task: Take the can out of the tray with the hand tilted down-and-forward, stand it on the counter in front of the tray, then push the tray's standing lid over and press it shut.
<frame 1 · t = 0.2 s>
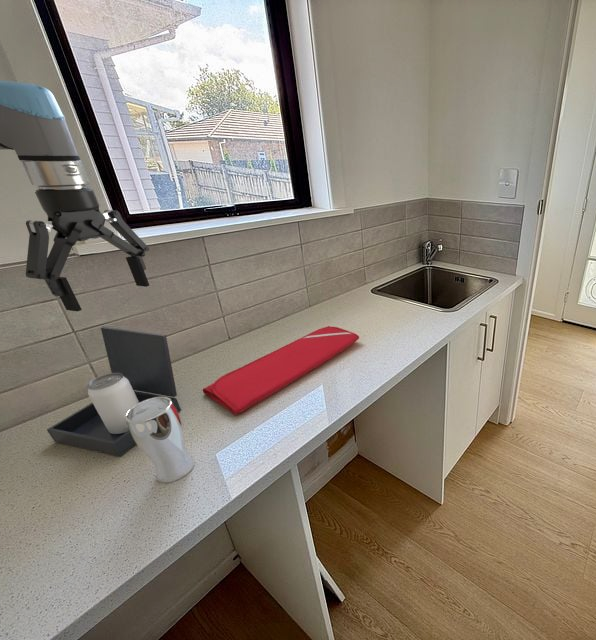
hand: (111, 297, 69), 28 cm above the countertop, tool pointing down, fingers open, 13 cm apart
dish drying mat: (291, 366, 96), on the countertop
can: (128, 425, 74), resting on tray
lid: (139, 362, 77), point 11 cm above the countertop, hinge at 100.0°
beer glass: (176, 469, 65), on the countertop
tray: (121, 425, 75), on the countertop
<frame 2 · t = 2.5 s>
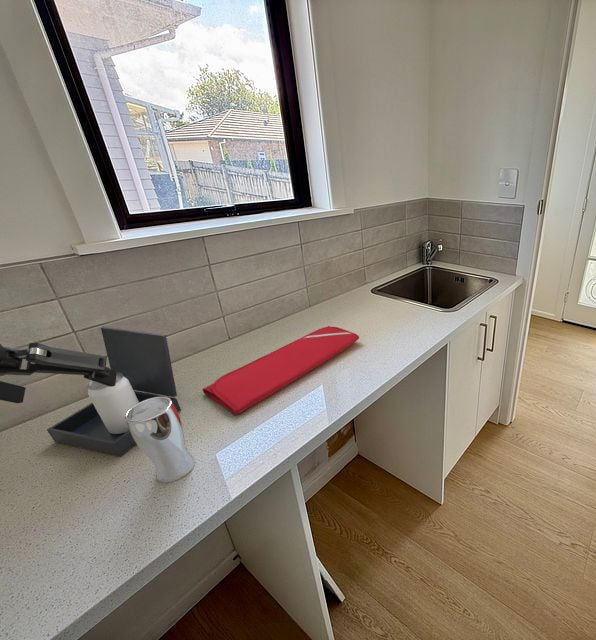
hand: (69, 387, 60), 17 cm above the countertop, tool tilted 40°, fingers open, 13 cm apart
nothing on the countertop moved.
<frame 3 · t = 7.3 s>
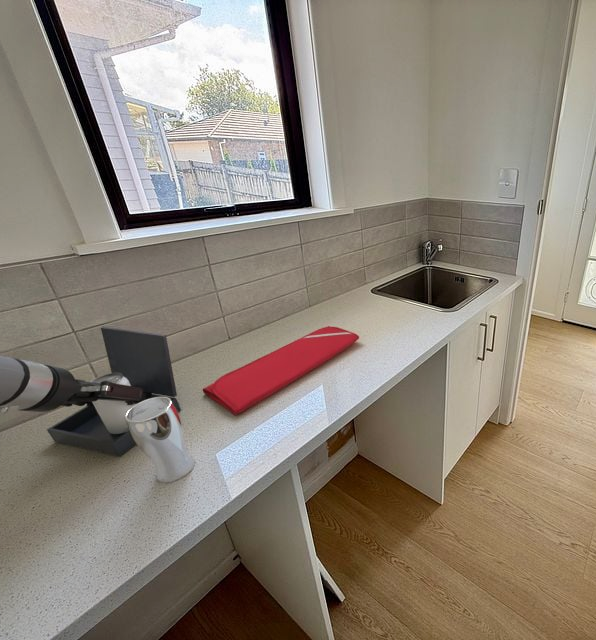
hand: (131, 400, 76), 4 cm above the countertop, tool tilted 45°, fingers closed on can, 6 cm apart
can: (128, 425, 74), resting on tray, touching gripper
everything else where it was.
when the fingers open (4 cm above the countertop, at t = 15.8 s): can stays where it is, on the countertop.
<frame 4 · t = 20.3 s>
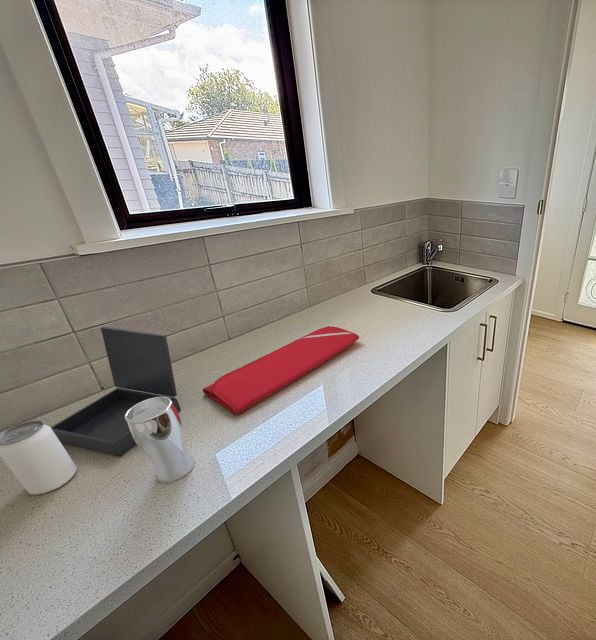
can: (54, 481, 62), on the countertop
everything else where it was.
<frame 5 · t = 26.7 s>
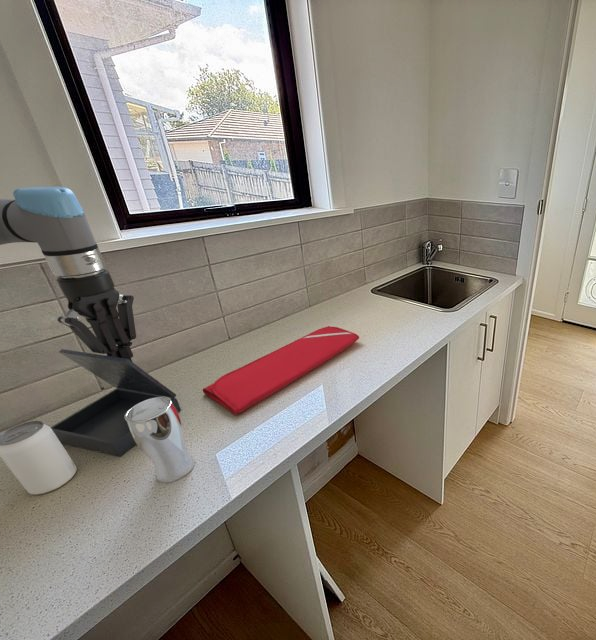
hand: (128, 372, 75), 10 cm above the countertop, tool pointing down, fingers closed
lid: (121, 374, 74), point 11 cm above the countertop, hinge at 66.2°, touching gripper
everything else where it was.
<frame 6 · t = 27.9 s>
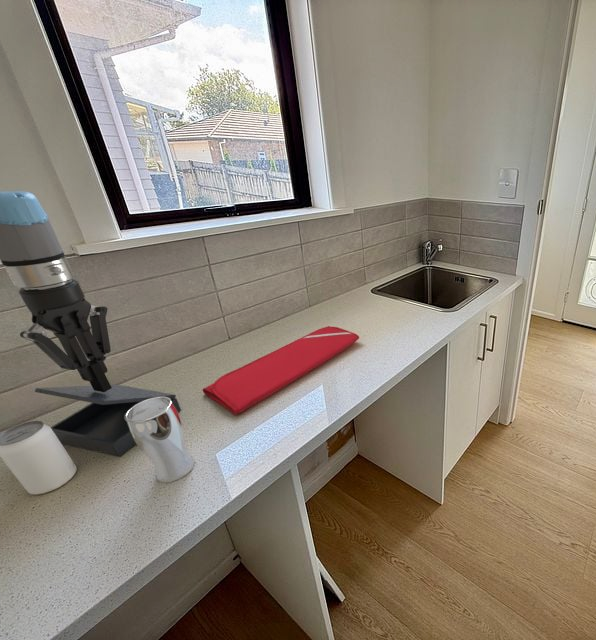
hand: (103, 389, 70), 10 cm above the countertop, tool pointing down, fingers closed
lid: (110, 393, 72), point 8 cm above the countertop, hinge at 33.8°, touching gripper
everything else where it was.
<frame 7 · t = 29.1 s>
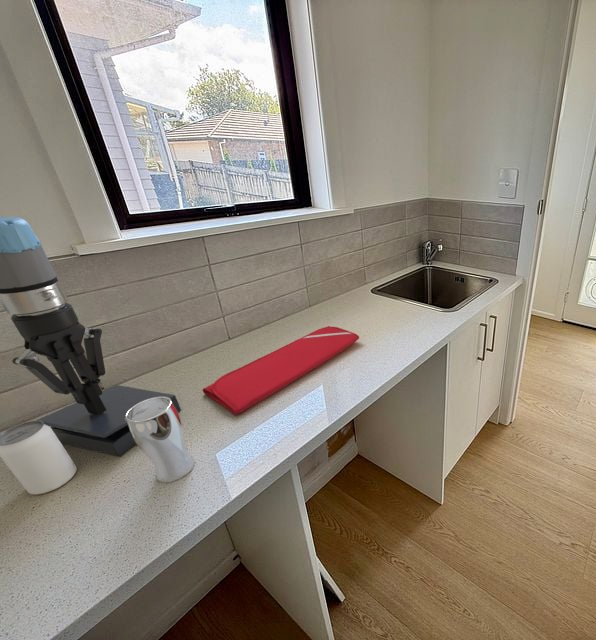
hand: (97, 411, 70), 6 cm above the countertop, tool pointing down, fingers closed
lid: (111, 408, 72), point 5 cm above the countertop, hinge at 8.3°, touching gripper
everything else where it was.
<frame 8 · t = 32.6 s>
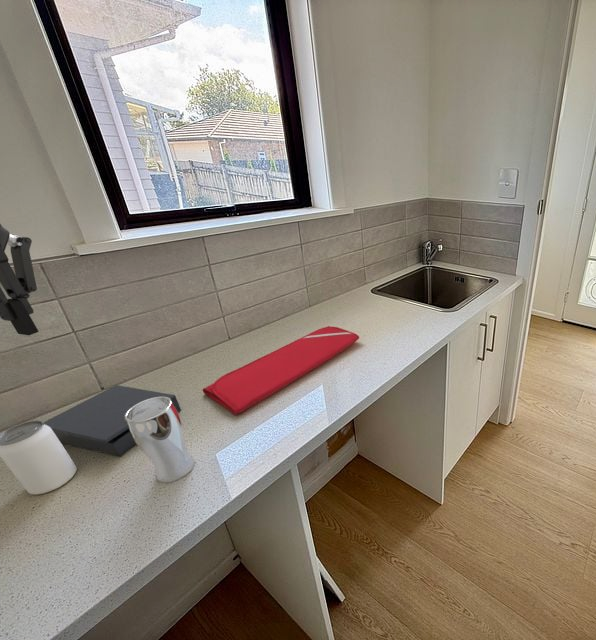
hand: (28, 332, 62), 24 cm above the countertop, tool pointing down, fingers closed
lid: (111, 410, 72), point 5 cm above the countertop, hinge at 3.8°
everything else where it was.
at the end: can inside the target area (0.2 cm from its centre), on the countertop; can tilted 0°; lid at +4° (first picture: +100°) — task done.
